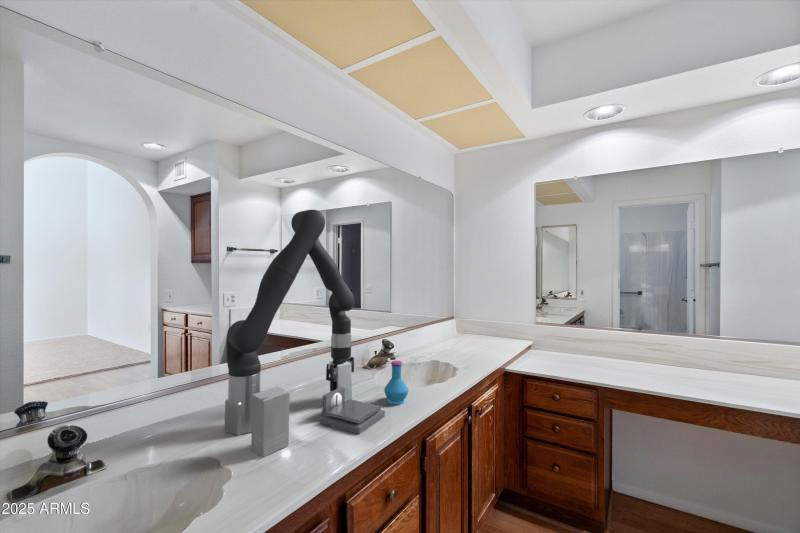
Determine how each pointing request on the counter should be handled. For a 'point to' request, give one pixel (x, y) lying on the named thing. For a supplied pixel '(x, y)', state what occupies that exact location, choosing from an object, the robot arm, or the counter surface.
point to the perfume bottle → (396, 385)
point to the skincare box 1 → (270, 421)
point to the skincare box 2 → (344, 378)
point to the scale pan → (353, 411)
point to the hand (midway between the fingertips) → (340, 387)
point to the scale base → (332, 401)
